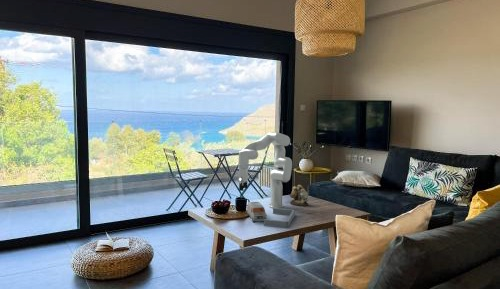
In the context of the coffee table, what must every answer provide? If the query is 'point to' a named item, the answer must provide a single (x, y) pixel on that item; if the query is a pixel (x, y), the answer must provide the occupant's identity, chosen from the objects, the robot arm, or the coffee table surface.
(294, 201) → the owl figurine
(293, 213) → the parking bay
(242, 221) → the coffee table surface
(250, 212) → the toy car
